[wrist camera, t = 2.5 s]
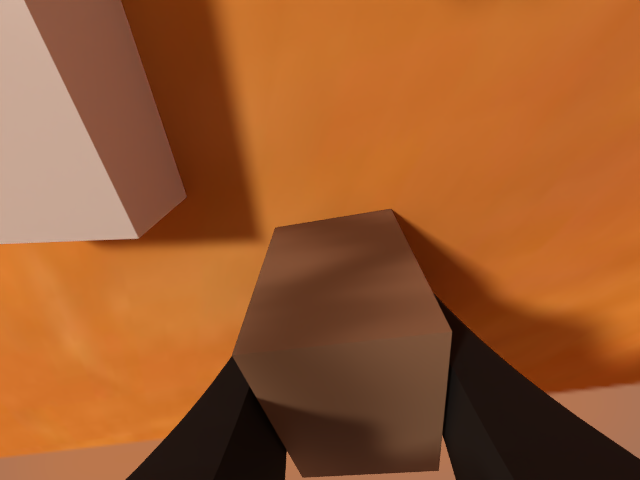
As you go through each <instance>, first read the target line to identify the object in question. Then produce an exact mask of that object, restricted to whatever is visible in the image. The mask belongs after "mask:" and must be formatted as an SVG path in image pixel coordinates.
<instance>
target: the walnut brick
mask: <svg viewBox="0 0 640 480" xmlns="http://www.w3.org/2000/svg"><path fill="white" fill-rule="evenodd" d="M451 339H452V330H451V328H450V326H449V324H448V322H447V320H446V318H445V316H444V314H443V312H442V310H441V308H440V306H439V304H438V302H437V300H436V298H435V296H434V294H433V292H432V290H431V288H430V286H429V284H428V282H427V280H426V278H425V276H424V274H423V272H422V270H421V268H420V266H419V264H418V262H417V260H416V258H415V256H414V254H413V252H412V250H411V248H410V246H409V244H408V242H407V240H406V238H405V236H404V234H403V232H402V230H401V228H400V226H399V224H398V222H397V220H396V218H395V216H394V214H393V212H392V210H391V209H387V210H381V211H375V212H369V213H363V214H356V215H350V216H344V217H338V218H332V219H326V220H320V221H313V222H307V223H301V224H295V225H289V226H283V227H277V228H275V230H274V233H273V236H272V239H271V242H270V245H269V247H268V250H267V253H266V256H265V259H264V262H263V265H262V268H261V271H260V274H259V277H258V280H257V283H256V286H255V289H254V292H253V295H252V298H251V301H250V304H249V306H248V309H247V312H246V315H245V318H244V321H243V324H242V327H241V330H240V333H239V336H238V339H237V342H236V345H235V348H234V351H233V354H232V356H233V358H234V360H235V362H236V363H237V365H238V367H239V369H240V370H241V372H242V374H243V375H244V377H245V379H246V381H247V382H248V384H249V386H250V388H251V389H252V391H253V393H254V394H255V396H256V398H257V400H258V401H259V403H260V405H261V407H262V408H263V410H264V412H265V413H266V415H267V417H268V419H269V420H270V422H271V424H272V425H273V427H274V429H275V431H276V432H277V434H278V436H279V438H280V439H281V441H282V443H283V444H284V446H285V448H286V450H287V451H288V453H289V455H290V457H291V458H292V460H293V462H294V463H295V465H296V467H297V469H298V470H299V472H300V474H301V475H302V477H320V476H321V477H323V476H343V475H361V474H362V475H363V474H382V473H401V472H402V473H403V472H421V471H439V461H440V452H441V441H442V431H443V421H444V411H445V400H446V390H447V380H448V369H449V359H450V349H451Z"/></svg>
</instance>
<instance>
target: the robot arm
mask: <svg viewBox="0 0 640 480" xmlns="http://www.w3.org/2000/svg"><path fill="white" fill-rule="evenodd" d="M433 294H434V293H433ZM434 296H435V298H436V300H437V302H438V304H439V306H440V308H441V310H442V312H443V314H444V316H445V318H446V320H447V322H448V324H449V326H450V328H451V330H452V339H451V349H450V359H449V369H448V380H447V390H446V400H445V411H444V421H443V431H442V435H443V438H444V441H445V444H446V447H447V451H448V454H449V457H450V461H451V464H452V468H453V471H454V475H455V478H456V480H640V459H639V458H637V457H636V456H634V455H633V454H631V453H630V452H628V451H627V450H626V449H624V448H623V447H621V446H620V445H618V444H617V443H615V442H614V441H612V440H611V439H609V438H608V437H606V436H605V435H604V434H602V433H600V432H599V431H598V430H596V429H595V428H593V427H592V426H590V425H589V424H587V423H586V422H585V421H583V420H582V419H580V418H579V417H577V416H576V415H575V414H573V413H572V412H570V411H569V410H568V409H566V408H565V407H564V406H562V405H561V404H560V403H558V402H557V401H555V400H554V399H553V398H551V397H550V396H549V395H547V394H546V393H545V392H544V391H542V390H541V389H540V388H538V387H537V386H536V385H534V384H533V383H532V382H531V381H529V380H528V379H527V378H525V377H524V376H523V375H522V374H520V373H519V372H518V371H517V370H515V369H514V368H513V367H512V366H511V365H509V364H508V363H507V362H506V361H505V360H503V359H502V358H501V357H500V356H499V355H498V354H496V353H495V352H494V351H493V350H492V349H491V348H490V347H488V346H487V345H486V344H485V343H484V342H483V341H482V340H481V339H479V338H478V337H477V336H476V335H475V334H474V333H473V332H472V331H471V330H470V329H469V328H468V327H467V326H466V325H464V324H463V323H462V322H461V321H460V320H459V319H458V318H457V317H456V316H455V315H454V314H453V313H452V312H451V311H450V310H449V309H448V308H447V307H446V306H445V305H444V304H443V303H442V302H441V301H440V299H439V298H438V297H437V296H436V295H435V294H434ZM286 452H287V450H286V448H285V446H284V444H283V443H282V441H281V439H280V438H279V436H278V434H277V432H276V431H275V429H274V427H273V425H272V424H271V422H270V420H269V419H268V417H267V415H266V413H265V412H264V410H263V408H262V407H261V405H260V403H259V401H258V400H257V398H256V396H255V394H254V393H253V391H252V389H251V388H250V386H249V384H248V382H247V381H246V379H245V377H244V375H243V374H242V372H241V370H240V369H239V367H238V365H237V363H236V362H235V360H234V358H233V356H232V357H231V358H230V359H229V361H228V362H227V364H226V365H225V366H224V368H223V369H222V370H221V372H220V373H219V374H218V376H217V377H216V378H215V380H214V381H213V382H212V384H211V385H210V386H209V388H208V389H207V390H206V391H205V393H204V394H203V395H202V396H201V398H200V399H199V400H198V401H197V403H196V404H195V405H194V406H193V407H192V409H191V410H190V411H189V412H188V413H187V414H186V416H185V417H184V418H183V419H182V420H181V421H180V423H179V424H178V425H177V426H176V427H175V428H174V429H173V430H172V431H171V433H170V434H169V435H168V436H167V437H166V438H165V439H164V440H163V441H162V442H161V444H160V445H159V446H158V447H157V448H156V449H155V450H154V451H153V452H152V453H151V454H150V455H149V456H148V458H146V459H145V461H144V462H143V463H142V464H141V465H140V466H139V467H138V468H137V469H136V470H135V471H134V472H133V473H132V474H131V475H130V476H129V477H128V478H127V479H126V480H285V470H286Z"/></svg>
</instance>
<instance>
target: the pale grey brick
mask: <svg viewBox="0 0 640 480" xmlns="http://www.w3.org/2000/svg"><path fill="white" fill-rule="evenodd" d="M186 197H187V195H186V193H185V190H184V187H183V184H182V181H181V178H180V175H179V172H178V169H177V166H176V163H175V160H174V157H173V154H172V151H171V148H170V145H169V142H168V139H167V136H166V133H165V130H164V127H163V124H162V121H161V118H160V115H159V112H158V109H157V106H156V103H155V100H154V97H153V94H152V91H151V88H150V86H149V83H148V80H147V77H146V74H145V71H144V68H143V65H142V62H141V59H140V56H139V53H138V50H137V47H136V44H135V41H134V38H133V35H132V32H131V29H130V26H129V23H128V20H127V17H126V14H125V11H124V8H123V5H122V2H121V0H0V244H11V243H37V242H63V241H89V240H115V239H139V238H140V237H141V236H142V235H143V234H145V233H146V232H147V231H148V230H149V229H150V228H152V227H153V226H154V225H155V224H156V223H157V222H159V221H160V220H161V219H162V218H163V217H164V216H165V215H167V214H168V213H169V212H170V211H171V210H172V209H174V208H175V207H176V206H177V205H178V204H179V203H180V202H182V201H183V200H184V199H185V198H186Z"/></svg>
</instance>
